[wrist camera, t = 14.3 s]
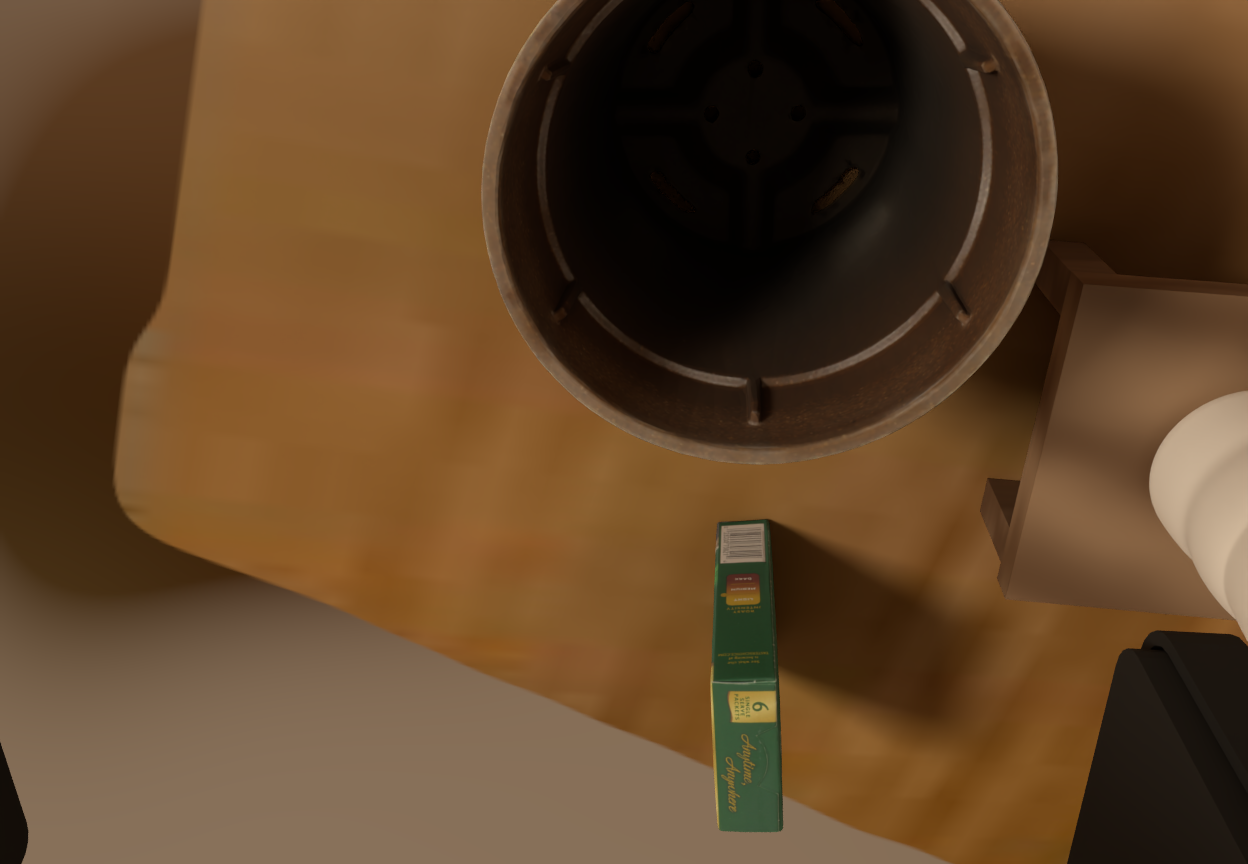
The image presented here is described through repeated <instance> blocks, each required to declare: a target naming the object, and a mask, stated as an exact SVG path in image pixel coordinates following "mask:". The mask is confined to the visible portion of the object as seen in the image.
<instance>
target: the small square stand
mask: <svg viewBox="0 0 1248 864" xmlns="http://www.w3.org/2000/svg"><path fill="white" fill-rule="evenodd" d="M1035 284H1036V285H1037V287H1038V288H1039V289H1040V290H1041V292H1042V293H1043V294H1044V295H1045V297H1046V298H1047V299H1048V300H1049V302H1050V303H1051V304H1052V305H1053V307H1054V308H1055V309H1056V310H1057V312H1058V313H1059V314H1060V315H1061V316H1060V320H1059V325H1058V329H1057V333H1056V337H1055V341H1054V345H1053V349H1052V354H1051V358H1050V362H1049V366H1048V370H1047V374H1046V378H1045V382H1044V387H1043V391H1042V395H1041V399H1040V403H1039V407H1038V411H1037V416H1036V420H1035V424H1034V428H1033V432H1032V436H1031V440H1030V444H1029V449H1028V453H1027V457H1026V461H1025V465H1024V469H1023V473H1022V478H1021V481H1013V480H1002V479H990V478H988V479H987V483H986V487H985V492H984V496H983V501H982V505H981V509H980V512H981V515H982V517H983V519H984V522H985V524H986V527H987V529H988V532H989V534H990V536H991V539H992V541H993V544H994V546H995V549H996V551H997V554H998V556H999V558H1000V561H1001V564H1000V569H999V573H998V577H997V579H998V582H999V584H1000V587H1001V589H1002V592H1003V594H1004V597H1005V599H1009V600H1020V601H1031V602H1042V603H1053V604H1064V605H1074V606H1085V607H1096V608H1107V609H1118V610H1129V611H1140V612H1151V613H1162V614H1172V615H1183V616H1194V617H1205V618H1216V619H1227V620H1236V619H1235V618H1233V617H1232V616H1231V615H1230V614H1229V613H1228V612H1227V611H1226V610H1225V609H1224V608H1223V607H1222V606H1221V605H1220V603H1219V602H1218V601H1217V600H1216V599H1215V597H1214V596H1213V595H1212V593H1211V592H1210V591H1209V589H1208V588H1207V586H1206V585H1205V583H1204V582H1203V580H1202V579H1201V577H1200V575H1199V573H1198V571H1197V569H1196V567H1195V565H1194V563H1193V560H1192V559H1191V558H1190V557H1188V556H1187V555H1186V554H1185V552H1184V551H1183V550H1182V549H1181V548H1180V547H1179V546H1178V544H1177V543H1176V542H1175V541H1174V539H1173V538H1172V537H1171V536H1170V534H1169V533H1168V531H1167V530H1166V529H1165V527H1164V526H1163V524H1162V523H1161V521H1160V520H1159V518H1158V516H1157V514H1156V512H1155V510H1154V507H1153V504H1152V501H1151V497H1150V490H1149V478H1150V471H1151V466H1152V463H1153V459H1154V457H1155V455H1156V452H1157V450H1158V448H1159V446H1160V445H1161V443H1162V442H1163V440H1164V439H1165V437H1166V436H1167V435H1168V433H1169V432H1170V431H1171V430H1172V429H1173V428H1174V427H1175V426H1176V425H1177V424H1178V423H1179V422H1180V421H1181V420H1182V419H1183V418H1184V417H1186V416H1187V415H1188V414H1190V413H1191V412H1192V411H1194V410H1195V409H1197V408H1199V407H1200V406H1202V405H1204V404H1206V403H1208V402H1210V401H1212V400H1214V399H1217V398H1219V397H1222V396H1225V395H1228V394H1232V393H1236V392H1241V391H1247V390H1248V284H1238V283H1224V282H1211V281H1198V280H1185V279H1171V278H1158V277H1145V276H1132V275H1119V274H1116V273H1115V272H1114V271H1113V270H1112V269H1111V268H1110V267H1109V266H1108V265H1107V264H1106V263H1105V262H1104V261H1103V260H1102V259H1101V258H1100V257H1099V256H1097V255H1096V254H1095V253H1094V252H1093V251H1092V250H1091V249H1090V248H1089V247H1088V246H1087V245H1086V244H1085V243H1079V242H1065V241H1052V240H1049V243H1048V247H1047V250H1046V253H1045V257H1044V260H1043V264H1042V267H1041V269H1040V272H1039V274H1038V276H1037V279H1036V281H1035Z"/></svg>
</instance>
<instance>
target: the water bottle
mask: <svg viewBox="0 0 1248 864" xmlns="http://www.w3.org/2000/svg"><path fill="white" fill-rule="evenodd" d="M1149 490H1150V497H1151V501H1152V504H1153V507H1154V510H1155V512H1156V514H1157V516H1158V518H1159V520H1160V521H1161V523H1162V524H1163V526H1164V527H1165V529H1166V530H1167V531H1168V533H1169V534H1170V536H1171V537H1172V538H1173V539H1174V541H1175V542H1176V543H1177V544H1178V546H1179V547H1180V548H1181V549H1182V550H1183V551H1184V552H1185V554H1186V555H1187V556H1188V557H1190V558H1191V559H1192V560H1193V563H1194V565H1195V567H1196V569H1197V571H1198V573H1199V575H1200V577H1201V579H1202V580H1203V582H1204V583H1205V585H1206V586H1207V588H1208V589H1209V591H1210V592H1211V593H1212V595H1213V596H1214V597H1215V599H1216V600H1217V601H1218V602H1219V603H1220V605H1221V606H1222V607H1223V608H1224V609H1225V610H1226V611H1227V612H1228V613H1229V614H1230V615H1231V616H1232V617H1233V618H1235V619H1236V620H1237V622H1238V624H1239V626H1240V628H1241V630H1242V632H1243V633H1244V635H1245V637H1246V639H1247V641H1248V390H1247V391H1241V392H1236V393H1232V394H1228V395H1225V396H1222V397H1219V398H1217V399H1214V400H1212V401H1210V402H1208V403H1206V404H1204V405H1202V406H1200V407H1199V408H1197V409H1195V410H1194V411H1192V412H1191V413H1190V414H1188V415H1187V416H1186V417H1184V418H1183V419H1182V420H1181V421H1180V422H1179V423H1178V424H1177V425H1176V426H1175V427H1174V428H1173V429H1172V430H1171V431H1170V432H1169V433H1168V435H1167V436H1166V437H1165V439H1164V440H1163V442H1162V443H1161V445H1160V446H1159V448H1158V450H1157V452H1156V455H1155V457H1154V459H1153V463H1152V466H1151V471H1150V478H1149Z"/></svg>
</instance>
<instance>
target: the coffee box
mask: <svg viewBox="0 0 1248 864" xmlns="http://www.w3.org/2000/svg"><path fill="white" fill-rule="evenodd" d="M711 714H712V743H713V762H714V779H715V795H716V808H717V821H718V827H719V830H721V831H735V832H778V831H781V830H782V829H783V810H782V809H783V801H782V800H783V799H782V751H781V722H780V695H779V675H778V656H777V633H776V616H775V600H774V581H773V563H772V548H771V534H770V523H769V521H768V520H753V521H737V522H718V523H717V534H716V559H715V585H714V617H713V639H712V665H711Z"/></svg>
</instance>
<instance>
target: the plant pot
mask: <svg viewBox="0 0 1248 864" xmlns="http://www.w3.org/2000/svg"><path fill="white" fill-rule="evenodd" d="M689 1H691V2H692V3H693V4H694V9H693V11H692V13H691V14H690V15H689V16H688V17H687V18H686V19H685V20H684V21H683V22H682V23H681V24H680V25H679V26H678V27H677V28H676V29H675V30H674V32H673V33H672V34H671V35H670V36H669V38H668V39H667V40H666V42H665V43H664V45H663V46H662V48H661V50H660V51H659V52H658V53H656V54H653V53H650V52H649V50H648V42H649V40H650V38H651V37H652V35H653V34H654V33H655V32H656V31H657V29H658V28H659V26H660V25H661V24H662V23H663V22H664V21H665V20H666V19H667V17H668V16H669V15H670V14H672V13H673V12H674V11H675V10H676V9H677V8H679V7H680V6H681V5H683V4H684V3H685V2H689ZM833 1H835V2H836V3H837V4H838V5H839V6H840V7H841V8H842V9H843V10H844V11H845V12H846V14H847V15H848V16H849V18H850V19H851V21H852V22H853V24H855V25H856V27H857V28H858V30H859V32H860V33H861V38H862V40H863V45H862V46H857V45H856V44H854V43H852V42H851V41H850V40H849V38H848V37H846V36H845V35H844V33H843V32H842V30H841V29H840V28H839V27H837V26H836V24H835V23H834V22H833V21H832V20H831V19H830V18H829V17H828V16H826V15H825V14H824V13H822V12H821V11H820V10H818V9H817V7H816V0H558V1H557V2H556V3H555V4H554V5H553V6H552V7H551V9H550V10H549V11H548V12H547V13H546V14H545V16H544V17H543V18H542V19H541V20H540V22H539V23H538V25H537V26H536V28H535V29H534V31H533V32H532V33H531V35H530V36H529V38H528V39H527V41H526V43H525V44H524V46H523V47H522V49H521V50H520V52H519V54H518V56H517V58H516V60H515V62H514V64H513V66H512V67H511V69H510V71H509V73H508V75H507V78H506V80H505V83H504V85H503V88H502V90H501V93H500V95H499V98H498V101H497V104H496V107H495V110H494V113H493V116H492V120H491V124H490V128H489V132H488V136H487V141H486V146H485V153H484V161H483V168H482V189H481V197H482V217H483V227H484V234H485V239H486V245H487V250H488V255H489V259H490V262H491V266H492V270H493V273H494V276H495V279H496V282H497V285H498V288H499V291H500V294H501V296H502V299H503V301H504V303H505V305H506V308H507V310H508V312H509V314H510V316H511V318H512V320H513V321H514V323H515V325H516V327H517V329H518V330H519V332H520V334H521V335H522V337H523V339H524V340H525V342H526V343H527V345H528V346H529V348H530V349H531V350H532V352H533V353H534V354H535V356H536V357H537V358H538V360H539V361H540V362H541V364H542V365H543V366H544V367H545V368H546V369H547V370H548V371H549V372H550V374H551V375H552V376H553V377H554V378H555V379H556V380H557V381H558V382H559V383H560V384H561V385H562V386H563V387H564V388H565V389H566V390H567V391H568V392H569V393H571V394H572V395H573V396H574V397H575V398H576V399H577V400H578V401H580V402H581V403H582V404H584V405H585V406H586V407H587V408H589V409H590V410H591V411H593V412H594V413H596V414H597V415H599V416H600V417H602V418H603V419H605V420H606V421H608V422H609V423H611V424H613V425H614V426H616V427H618V428H619V429H621V430H623V431H625V432H627V433H629V434H631V435H633V436H635V437H637V438H639V439H642V440H644V441H647V442H649V443H652V444H655V445H657V446H660V447H663V448H666V449H669V450H672V451H675V452H678V453H681V454H686V455H690V456H694V457H698V458H703V459H708V460H713V461H719V462H729V463H738V464H780V463H790V462H798V461H806V460H811V459H817V458H821V457H825V456H829V455H833V454H837V453H841V452H845V451H848V450H851V449H854V448H858V447H860V446H863V445H865V444H868V443H870V442H873V441H875V440H877V439H880V438H882V437H885V436H887V435H889V434H891V433H893V432H895V431H897V430H899V429H901V428H903V427H904V426H906V425H908V424H910V423H911V422H913V421H915V420H916V419H918V418H920V417H921V416H923V415H924V414H926V413H927V412H929V411H930V410H932V409H933V408H934V407H936V406H937V405H939V404H940V403H941V402H942V401H944V400H945V399H946V398H948V397H949V396H950V395H951V394H952V393H954V392H955V391H956V390H957V389H958V388H959V387H960V386H961V385H962V384H964V383H965V382H966V381H967V380H968V379H969V378H970V377H971V376H972V375H973V374H974V373H975V372H976V370H977V369H978V368H979V367H980V366H981V365H982V364H983V363H984V362H985V361H986V360H987V359H988V358H989V356H990V355H991V354H992V353H993V352H994V350H995V349H996V348H997V347H998V345H999V344H1000V343H1001V341H1002V340H1003V338H1004V337H1005V335H1006V334H1007V333H1008V331H1009V330H1010V328H1011V327H1012V325H1013V324H1014V322H1015V320H1016V319H1017V317H1018V316H1019V314H1020V313H1021V311H1022V309H1023V307H1024V305H1025V303H1026V301H1027V299H1028V297H1029V295H1030V293H1031V291H1032V288H1033V286H1034V284H1035V281H1036V279H1037V276H1038V274H1039V272H1040V269H1041V267H1042V264H1043V260H1044V257H1045V253H1046V250H1047V247H1048V243H1049V238H1050V234H1051V229H1052V224H1053V220H1054V214H1055V208H1056V201H1057V189H1058V154H1057V142H1056V132H1055V126H1054V120H1053V114H1052V109H1051V105H1050V101H1049V98H1048V94H1047V90H1046V87H1045V84H1044V81H1043V78H1042V76H1041V73H1040V70H1039V67H1038V65H1037V63H1036V61H1035V58H1034V56H1033V54H1032V52H1031V49H1030V47H1029V45H1028V43H1027V42H1026V40H1025V38H1024V37H1023V35H1022V33H1021V31H1020V30H1019V28H1018V26H1017V25H1016V23H1015V22H1014V21H1013V19H1012V18H1011V16H1010V15H1009V13H1008V12H1007V11H1006V9H1005V8H1004V6H1003V5H1002V4H1001V3H1000V2H999V0H833ZM753 60H757V61H759V62H761V64H762V65H763V72H762V74H761V75H760V76H759V77H757V78H753V77H752V76H750V74H749V73H748V70H747V69H748V65H749V63H750V62H751V61H753ZM710 105H712V106H715V107H717V109H718V111H719V116H718V118H717V119H716V121H715V122H708V121H707V120H706V119H705V116H704V110H705V109H706V108H707V107H708V106H710ZM798 105H802V106H803V107H804V108H805V110H806V115H805V117H804V118H803V119H802V120H800V121H793V120H792V118H791V110H792V108H793V107H795V106H798ZM753 149H755V150H757V151H758V152H759V153H760V160H759V162H758V163H756V164H755V165H751V164H749V163H747V160H746V154H747V153H748V152H749V151H750V150H753ZM851 167H857V168H858V170H859V175H858V176H857V178H856V179H855V180H854V182H853V183H852V184H851V185H850V186H849V187H848V188H847V189H846V190H845V191H844V192H843V194H842V195H840V196H839V197H838V198H837V199H836V200H835V201H834V202H833V203H832V204H830V205H829V206H828V207H826V208H825V209H823V210H821V211H819V212H817V213H815V214H812V212H811V210H812V206H813V204H814V202H815V200H816V199H818V198H819V197H821V196H823V195H824V194H825V193H826V191H828V190H829V189H830V188H831V187H832V186H833V184H835V183H837V182H838V179H839V178H840V176H841V175H842V173H843V172H844V171H845V170H846V169H848V168H851ZM653 171H659V172H660V173H662V174H664V175H665V176H666V179H667V181H666V182H667V183H670V184H671V185H673V186H674V187H675V188H676V189H677V190H678V191H679V193H680V194H681V195H682V196H683V197H684V198H685V199H686V200H688V201H690V202H691V203H692V204H693V205H694V207H695V208H696V212H695V214H694V213H686V212H684V211H682V210H681V209H679V208H678V207H677V206H675V205H674V204H673V203H672V202H671V201H670V200H669V199H668V198H667V197H666V196H664V195H663V194H662V193H661V192H660V191H659V189H658V188H657V187H656V186H655V185H654V183H653V182H652V181H651V179H650V174H651V173H652V172H653Z"/></svg>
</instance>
